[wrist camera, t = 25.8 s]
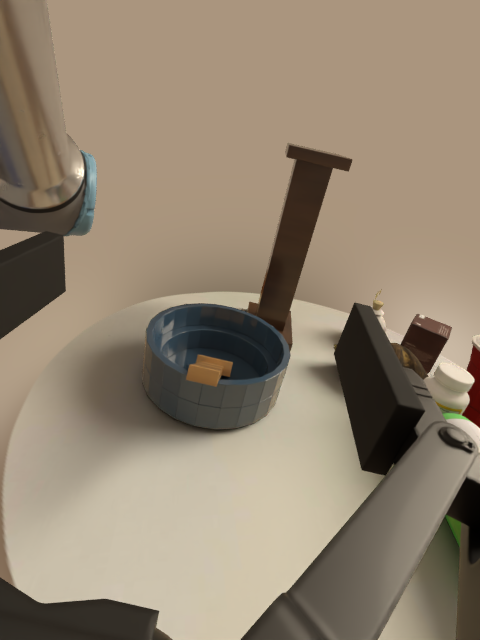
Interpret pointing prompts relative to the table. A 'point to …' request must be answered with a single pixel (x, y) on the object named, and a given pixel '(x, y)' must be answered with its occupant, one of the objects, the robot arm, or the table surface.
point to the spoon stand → (295, 233)
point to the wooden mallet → (208, 370)
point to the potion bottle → (379, 312)
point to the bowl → (218, 342)
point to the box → (426, 340)
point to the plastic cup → (474, 384)
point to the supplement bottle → (450, 388)
